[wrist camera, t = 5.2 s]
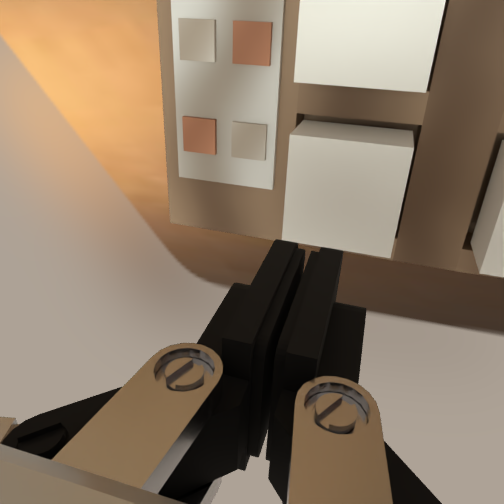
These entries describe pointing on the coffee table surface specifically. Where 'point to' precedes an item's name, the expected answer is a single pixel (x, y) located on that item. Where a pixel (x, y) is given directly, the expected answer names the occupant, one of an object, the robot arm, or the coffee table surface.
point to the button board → (325, 110)
